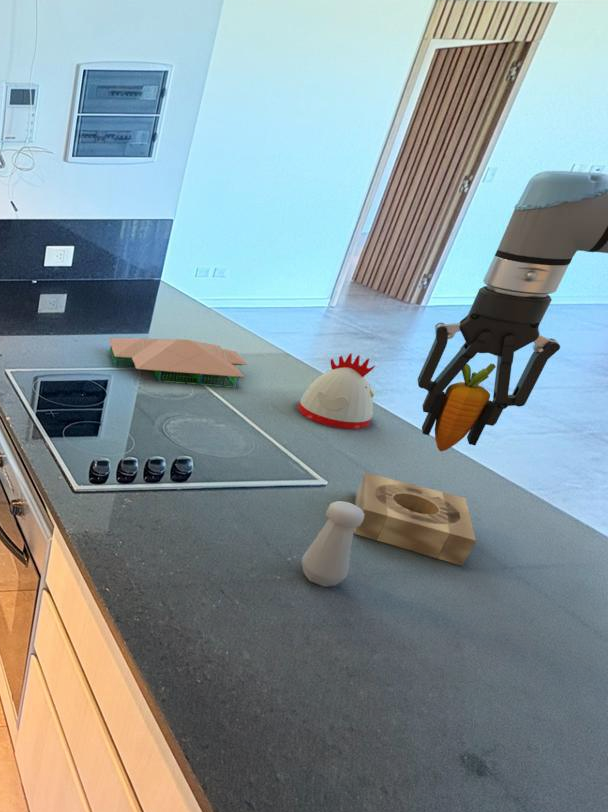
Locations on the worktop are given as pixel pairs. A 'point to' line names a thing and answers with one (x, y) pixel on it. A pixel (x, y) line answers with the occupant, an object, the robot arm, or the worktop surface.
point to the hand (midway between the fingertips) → (447, 435)
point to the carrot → (461, 407)
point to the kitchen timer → (340, 396)
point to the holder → (415, 518)
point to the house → (178, 357)
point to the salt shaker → (333, 545)
